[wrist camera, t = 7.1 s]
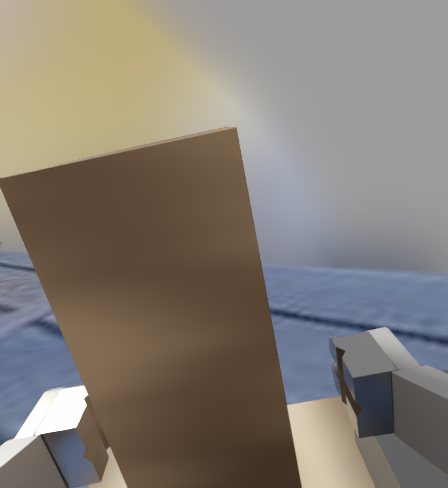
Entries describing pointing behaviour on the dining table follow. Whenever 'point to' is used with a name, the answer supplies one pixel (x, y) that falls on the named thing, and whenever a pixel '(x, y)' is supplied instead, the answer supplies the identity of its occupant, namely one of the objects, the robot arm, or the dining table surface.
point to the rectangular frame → (398, 463)
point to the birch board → (305, 448)
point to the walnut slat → (164, 308)
